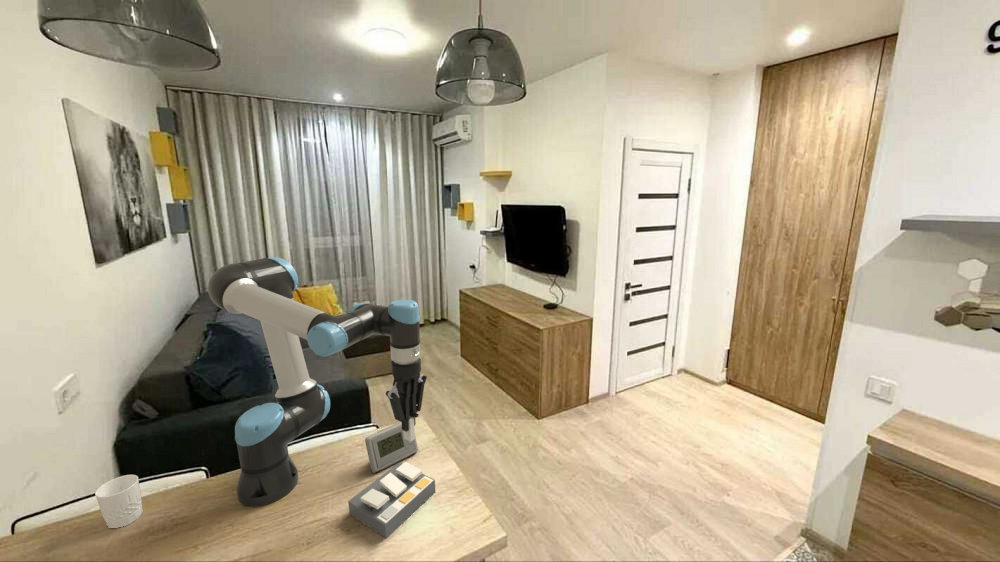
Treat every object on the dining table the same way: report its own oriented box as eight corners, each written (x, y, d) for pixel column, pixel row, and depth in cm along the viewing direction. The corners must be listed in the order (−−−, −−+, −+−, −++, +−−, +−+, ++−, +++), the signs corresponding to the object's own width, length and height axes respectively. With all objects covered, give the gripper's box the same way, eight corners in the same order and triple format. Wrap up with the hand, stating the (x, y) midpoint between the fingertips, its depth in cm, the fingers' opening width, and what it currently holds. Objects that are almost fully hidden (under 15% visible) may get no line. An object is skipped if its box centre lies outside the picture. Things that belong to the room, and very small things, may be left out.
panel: (349, 514, 102) (348, 499, 101) (400, 473, 117) (399, 460, 116) (386, 538, 95) (385, 522, 94) (435, 492, 110) (434, 478, 109)
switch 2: (379, 485, 105) (379, 480, 104) (389, 476, 108) (390, 472, 107) (395, 499, 102) (396, 494, 101) (406, 490, 105) (406, 485, 105)
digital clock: (370, 476, 116) (368, 445, 114) (363, 459, 123) (361, 429, 121) (422, 458, 124) (421, 428, 122) (413, 442, 132) (411, 414, 129)
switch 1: (361, 503, 100) (360, 497, 100) (373, 493, 103) (372, 488, 103) (378, 511, 97) (377, 505, 96) (389, 501, 100) (388, 496, 100)
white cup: (144, 502, 106) (137, 470, 104) (146, 518, 100) (138, 485, 98) (104, 518, 101) (95, 485, 98) (103, 537, 95) (94, 502, 93)
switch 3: (395, 474, 110) (395, 469, 110) (405, 466, 113) (405, 461, 113) (412, 483, 107) (412, 478, 106) (422, 475, 110) (421, 470, 109)
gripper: (397, 371, 94) (401, 456, 99) (433, 353, 105) (435, 431, 110) (376, 364, 98) (381, 446, 103) (413, 347, 108) (416, 422, 114)
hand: (409, 438), depth 106 cm, fingers closed
